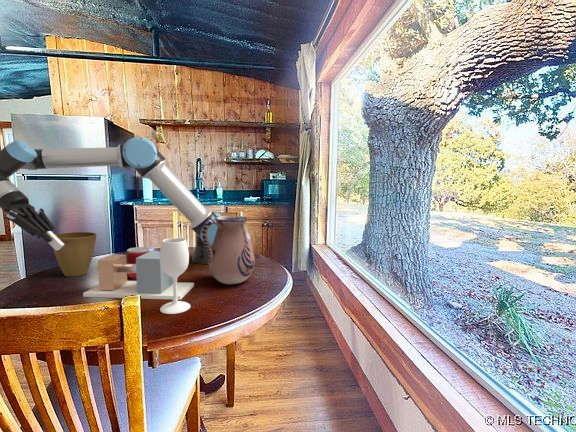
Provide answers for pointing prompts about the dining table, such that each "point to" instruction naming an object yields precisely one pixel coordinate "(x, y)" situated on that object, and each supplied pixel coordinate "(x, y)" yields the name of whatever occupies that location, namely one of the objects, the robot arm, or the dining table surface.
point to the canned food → (132, 256)
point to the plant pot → (75, 252)
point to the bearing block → (145, 282)
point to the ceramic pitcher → (229, 250)
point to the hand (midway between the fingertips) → (60, 247)
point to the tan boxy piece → (114, 271)
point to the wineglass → (174, 270)
